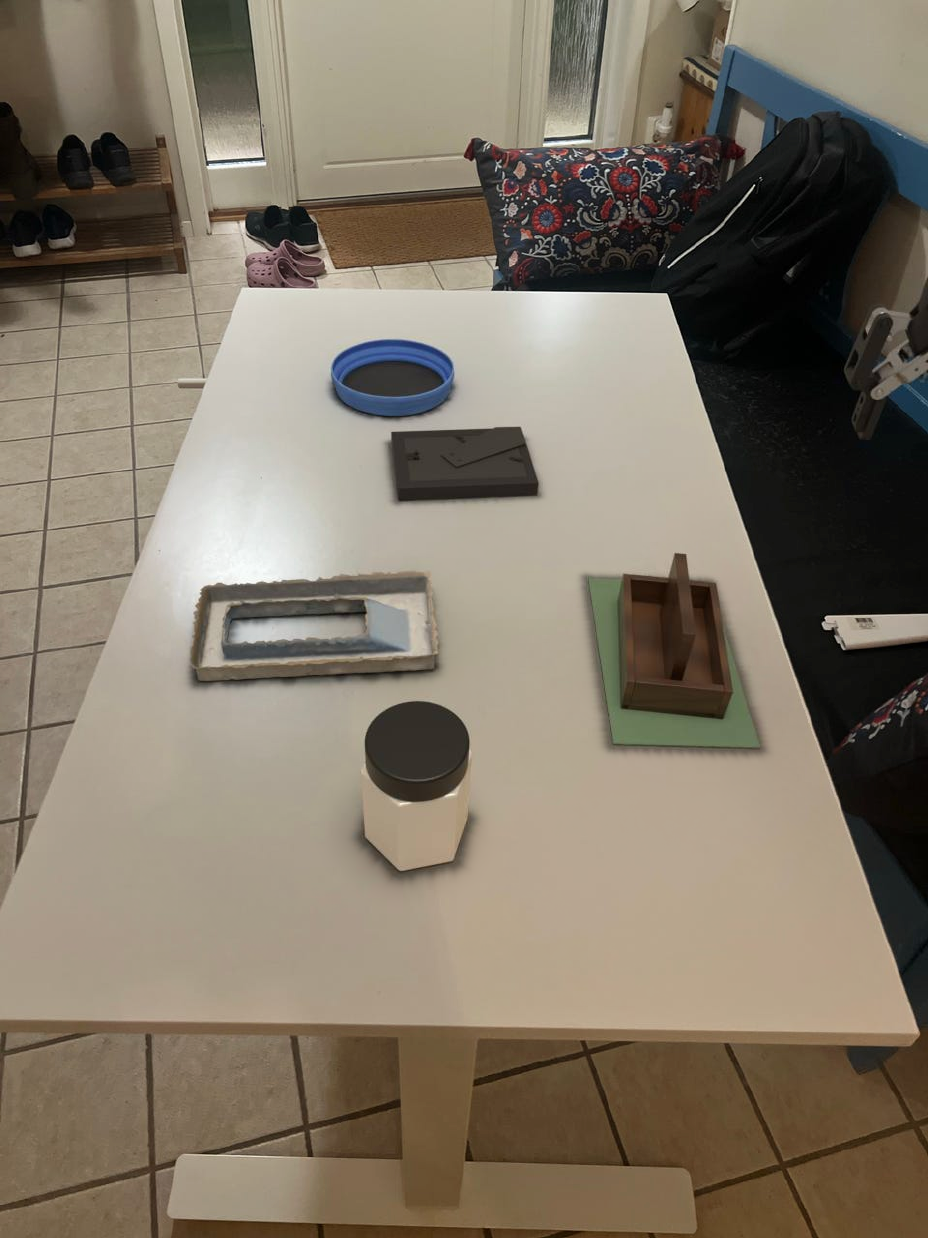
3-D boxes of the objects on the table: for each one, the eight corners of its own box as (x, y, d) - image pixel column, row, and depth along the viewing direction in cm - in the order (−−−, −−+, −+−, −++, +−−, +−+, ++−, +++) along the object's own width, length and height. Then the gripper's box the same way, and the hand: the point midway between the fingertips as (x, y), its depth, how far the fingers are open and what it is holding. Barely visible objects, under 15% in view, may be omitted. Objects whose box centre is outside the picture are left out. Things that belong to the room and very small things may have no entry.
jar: (456, 781, 80) (460, 691, 72) (479, 858, 74) (487, 770, 66) (357, 798, 78) (351, 708, 70) (373, 879, 73) (368, 792, 64)
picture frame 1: (440, 675, 90) (441, 655, 88) (188, 689, 87) (182, 669, 85) (429, 588, 99) (429, 568, 97) (201, 599, 96) (197, 578, 94)
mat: (759, 748, 84) (760, 747, 84) (612, 744, 84) (613, 743, 84) (709, 583, 102) (710, 582, 102) (588, 579, 101) (588, 578, 101)
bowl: (460, 364, 138) (460, 343, 135) (446, 425, 125) (446, 402, 122) (345, 355, 139) (344, 333, 136) (319, 413, 126) (318, 391, 123)
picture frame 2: (519, 439, 123) (391, 443, 121) (521, 425, 121) (391, 429, 119) (537, 495, 113) (398, 501, 111) (539, 480, 112) (398, 486, 110)
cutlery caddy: (723, 719, 86) (746, 654, 80) (620, 708, 87) (636, 643, 81) (708, 609, 98) (727, 545, 92) (617, 600, 99) (630, 536, 92)
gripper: (914, 248, 59) (835, 456, 70) (1136, 265, 58) (1021, 473, 69) (887, 209, 64) (818, 409, 76) (1089, 224, 64) (989, 423, 75)
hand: (915, 439), depth 72 cm, fingers open, 8 cm apart
